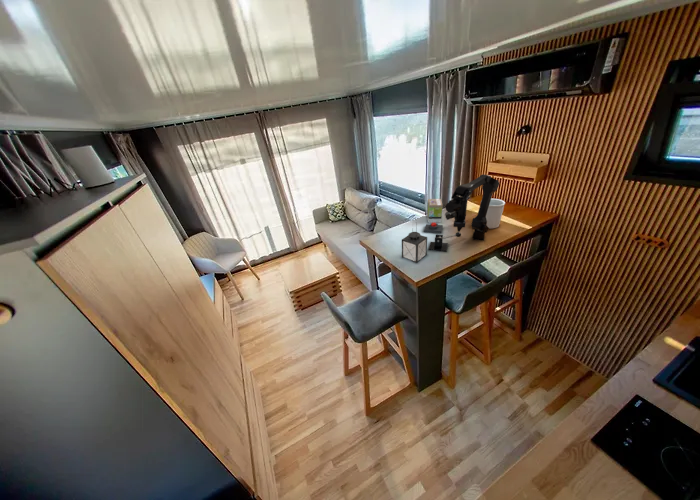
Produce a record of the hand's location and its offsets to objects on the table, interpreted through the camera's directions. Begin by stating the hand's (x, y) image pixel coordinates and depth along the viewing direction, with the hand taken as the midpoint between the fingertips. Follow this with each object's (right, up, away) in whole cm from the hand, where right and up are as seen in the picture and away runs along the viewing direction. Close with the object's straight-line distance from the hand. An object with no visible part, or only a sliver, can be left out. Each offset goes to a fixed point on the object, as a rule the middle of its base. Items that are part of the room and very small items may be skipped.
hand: (458, 231), depth 154 cm
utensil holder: (+35, +7, +30) cm, 46 cm away
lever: (-4, -4, +5) cm, 8 cm away
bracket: (-9, -10, +11) cm, 17 cm away
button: (-5, +6, +31) cm, 32 cm away
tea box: (+1, +14, +49) cm, 51 cm away
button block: (-5, +3, +32) cm, 33 cm away
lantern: (-26, -16, +5) cm, 31 cm away
